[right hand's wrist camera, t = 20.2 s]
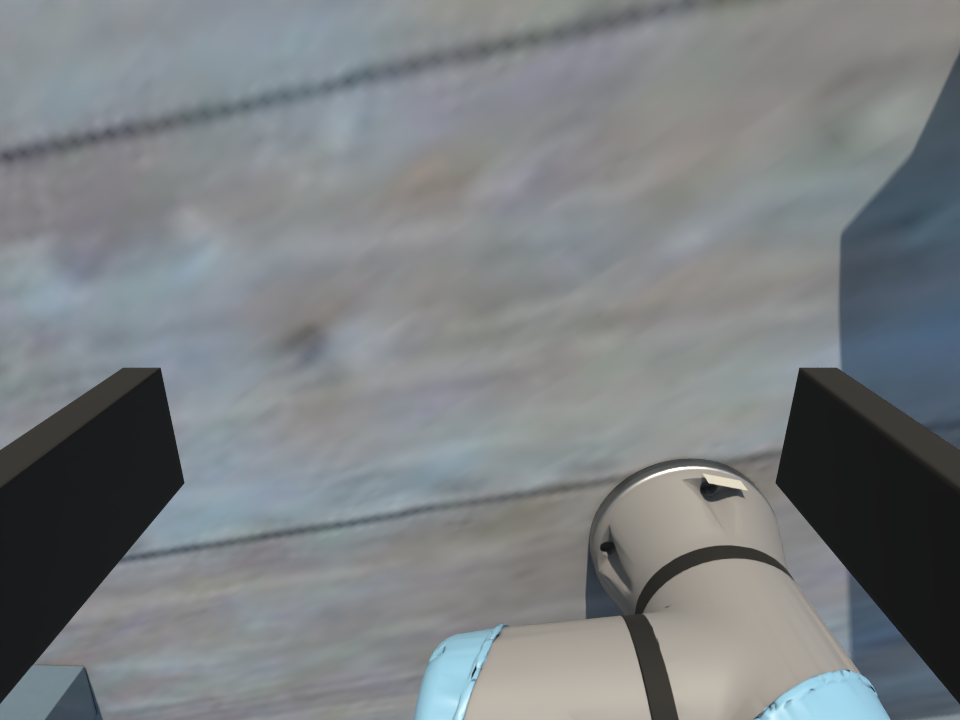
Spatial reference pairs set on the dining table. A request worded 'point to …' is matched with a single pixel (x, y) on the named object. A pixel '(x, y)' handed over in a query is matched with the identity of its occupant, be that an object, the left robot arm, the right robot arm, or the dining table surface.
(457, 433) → the dining table surface
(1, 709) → the brick
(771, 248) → the dining table surface
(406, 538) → the dining table surface
